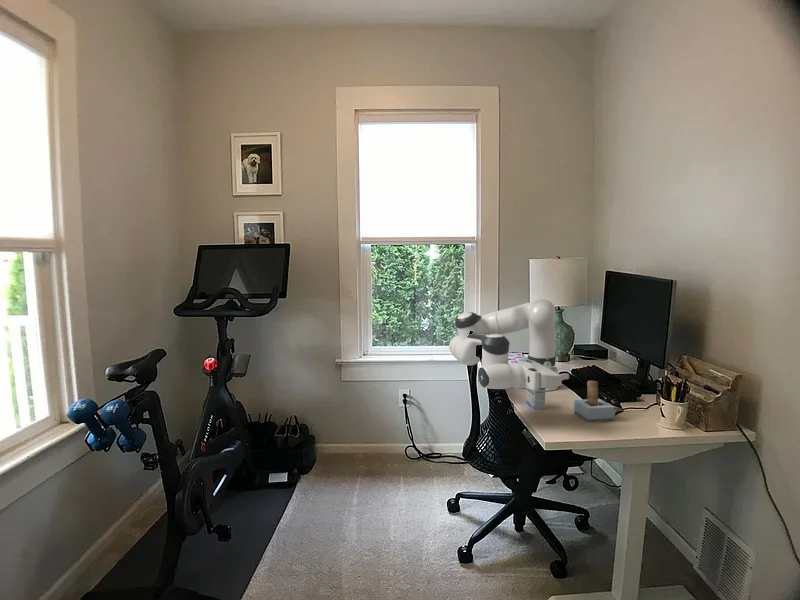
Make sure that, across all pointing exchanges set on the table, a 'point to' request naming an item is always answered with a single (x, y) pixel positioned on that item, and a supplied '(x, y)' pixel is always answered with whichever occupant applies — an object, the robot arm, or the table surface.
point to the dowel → (592, 393)
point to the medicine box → (535, 398)
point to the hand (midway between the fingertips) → (561, 372)
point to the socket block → (594, 411)
